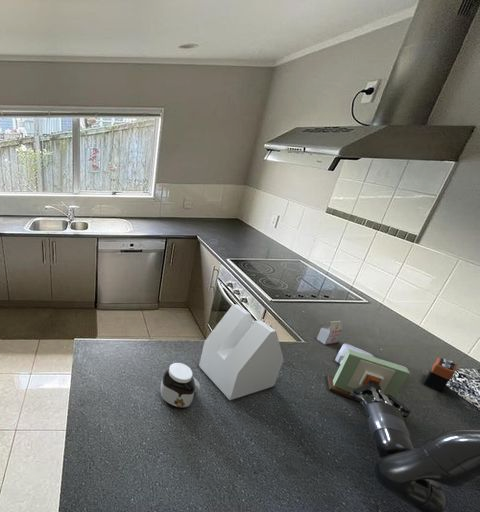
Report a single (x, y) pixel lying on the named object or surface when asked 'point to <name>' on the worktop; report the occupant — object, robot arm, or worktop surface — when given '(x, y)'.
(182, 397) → the spread jar
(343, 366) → the wall panel
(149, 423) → the worktop surface
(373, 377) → the switch
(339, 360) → the charger
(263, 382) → the white grooved wedge block
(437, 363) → the battery
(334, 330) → the small printed carton
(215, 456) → the worktop surface
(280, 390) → the worktop surface
